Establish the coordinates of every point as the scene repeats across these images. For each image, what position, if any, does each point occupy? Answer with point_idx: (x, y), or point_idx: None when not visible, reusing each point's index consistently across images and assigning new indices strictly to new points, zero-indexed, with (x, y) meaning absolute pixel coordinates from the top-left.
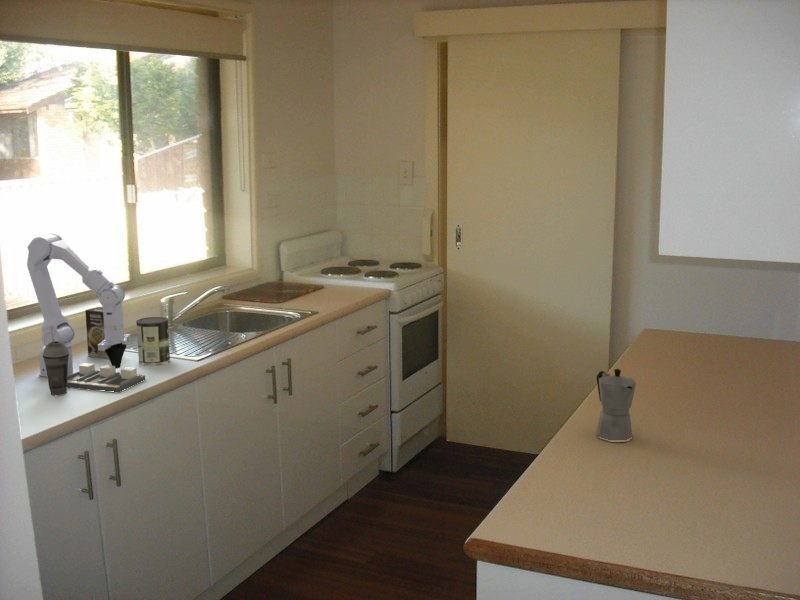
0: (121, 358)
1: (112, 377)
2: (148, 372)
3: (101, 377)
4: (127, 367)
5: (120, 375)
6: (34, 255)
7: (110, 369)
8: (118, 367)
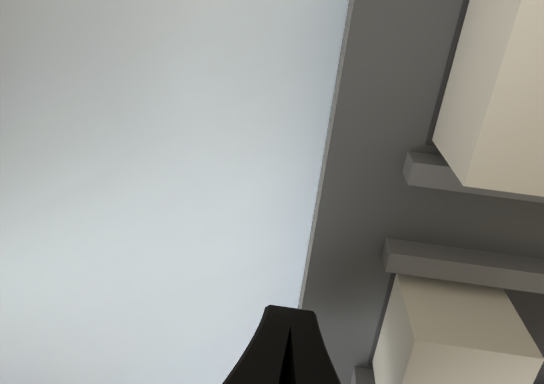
0: (250, 371)
1: (523, 259)
2: (57, 46)
3: None
4: (485, 164)
5: None
6: None
7: (517, 343)
8: (307, 314)
